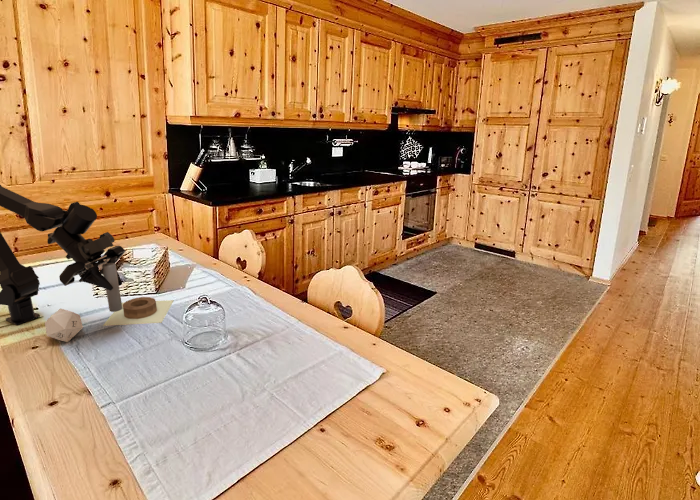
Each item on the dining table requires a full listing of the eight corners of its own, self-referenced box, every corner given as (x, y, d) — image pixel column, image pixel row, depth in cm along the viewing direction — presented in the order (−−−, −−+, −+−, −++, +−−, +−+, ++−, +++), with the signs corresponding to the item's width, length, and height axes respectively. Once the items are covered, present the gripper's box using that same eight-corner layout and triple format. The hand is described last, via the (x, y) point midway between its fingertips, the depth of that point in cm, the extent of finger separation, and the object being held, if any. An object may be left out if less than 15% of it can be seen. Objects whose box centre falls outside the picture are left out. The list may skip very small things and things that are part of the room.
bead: (117, 314, 134) (116, 305, 133) (143, 303, 141) (142, 294, 140) (137, 321, 130) (135, 311, 129) (162, 309, 137) (161, 301, 136)
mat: (102, 326, 127) (102, 325, 127) (121, 303, 142) (121, 302, 142) (161, 323, 129) (161, 322, 129) (174, 301, 144) (173, 300, 144)
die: (46, 351, 115) (65, 324, 113) (32, 328, 118) (50, 301, 116) (77, 347, 123) (94, 322, 121) (62, 326, 126) (79, 300, 124)
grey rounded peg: (106, 310, 122) (99, 265, 118) (117, 305, 125) (110, 262, 121) (114, 312, 121) (107, 267, 117) (124, 308, 123) (118, 264, 119)
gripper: (60, 235, 108) (106, 281, 109) (114, 217, 125) (154, 258, 126) (39, 263, 112) (84, 307, 113) (95, 242, 129) (133, 281, 130)
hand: (116, 286), depth 120 cm, fingers closed on grey rounded peg, 3 cm apart
